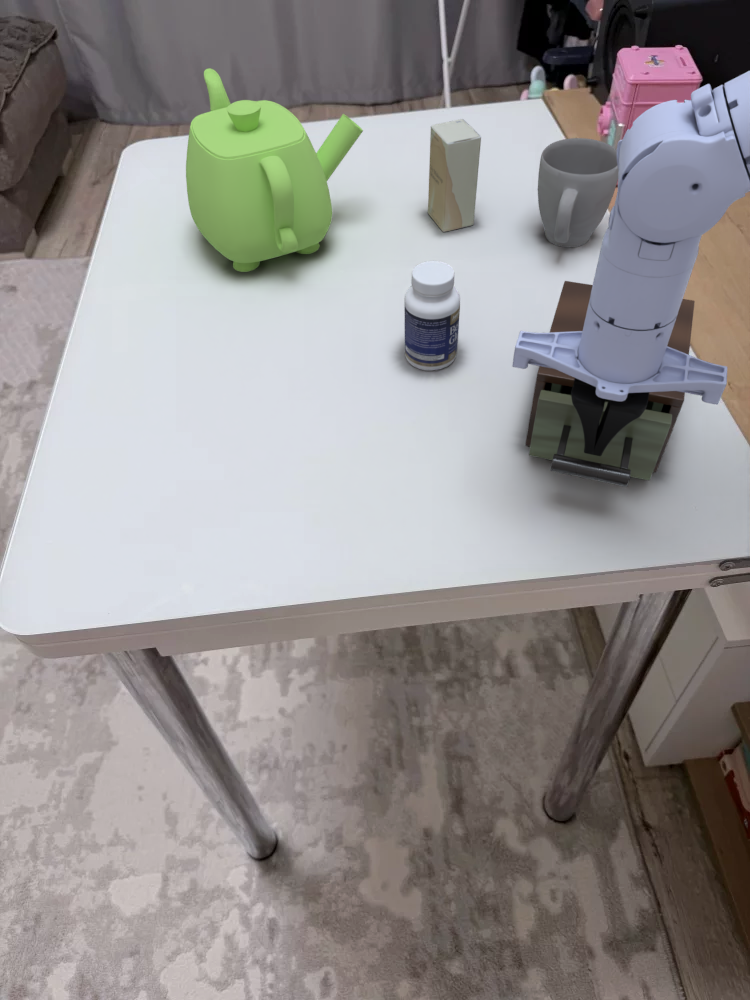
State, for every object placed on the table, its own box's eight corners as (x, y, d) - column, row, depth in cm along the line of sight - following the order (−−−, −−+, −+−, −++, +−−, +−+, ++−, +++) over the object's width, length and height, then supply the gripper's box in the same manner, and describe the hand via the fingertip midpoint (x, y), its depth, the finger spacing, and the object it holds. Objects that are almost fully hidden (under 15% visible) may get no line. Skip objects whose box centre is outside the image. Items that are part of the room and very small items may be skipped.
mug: (539, 211, 93) (550, 133, 86) (610, 222, 91) (628, 142, 83) (516, 263, 86) (526, 183, 79) (593, 276, 84) (610, 195, 76)
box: (426, 213, 94) (428, 123, 85) (458, 205, 95) (462, 116, 86) (443, 234, 91) (447, 142, 82) (475, 226, 91) (482, 135, 83)
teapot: (403, 253, 88) (402, 115, 76) (231, 305, 83) (200, 166, 71) (322, 165, 103) (310, 37, 91) (171, 204, 98) (137, 74, 85)
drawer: (643, 524, 60) (666, 469, 55) (517, 496, 63) (526, 440, 57) (662, 386, 71) (682, 328, 65) (553, 366, 73) (564, 308, 68)
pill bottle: (458, 372, 74) (463, 288, 67) (404, 372, 75) (404, 290, 67) (455, 337, 78) (460, 255, 70) (404, 338, 78) (403, 256, 70)
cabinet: (656, 472, 65) (684, 400, 58) (524, 445, 68) (537, 373, 61) (669, 373, 73) (694, 300, 66) (551, 353, 76) (564, 280, 69)
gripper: (512, 321, 48) (494, 462, 59) (749, 361, 45) (684, 503, 55) (533, 262, 52) (512, 403, 63) (750, 295, 49) (690, 438, 60)
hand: (594, 446), depth 60 cm, fingers closed
